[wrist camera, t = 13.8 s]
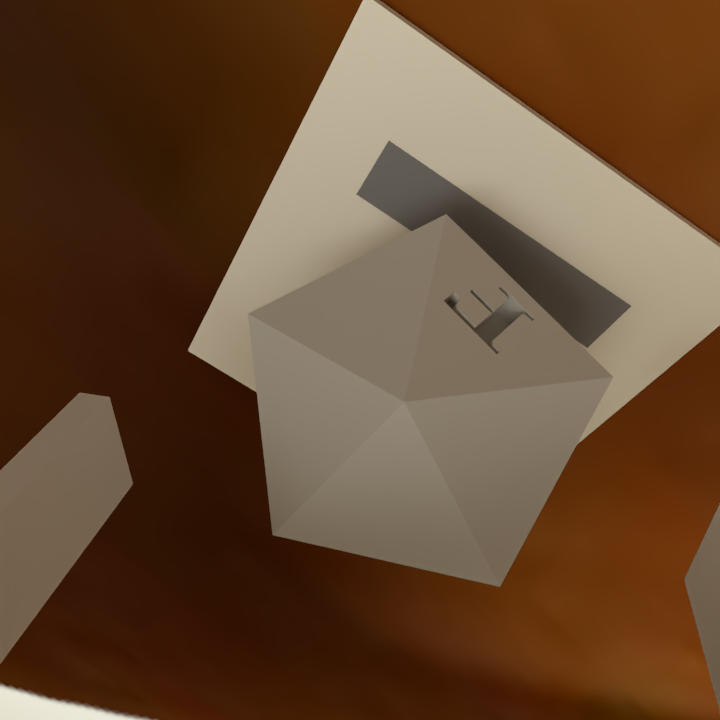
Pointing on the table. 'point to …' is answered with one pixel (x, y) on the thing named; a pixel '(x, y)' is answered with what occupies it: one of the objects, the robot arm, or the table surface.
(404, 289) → the die
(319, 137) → the board
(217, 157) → the table surface
